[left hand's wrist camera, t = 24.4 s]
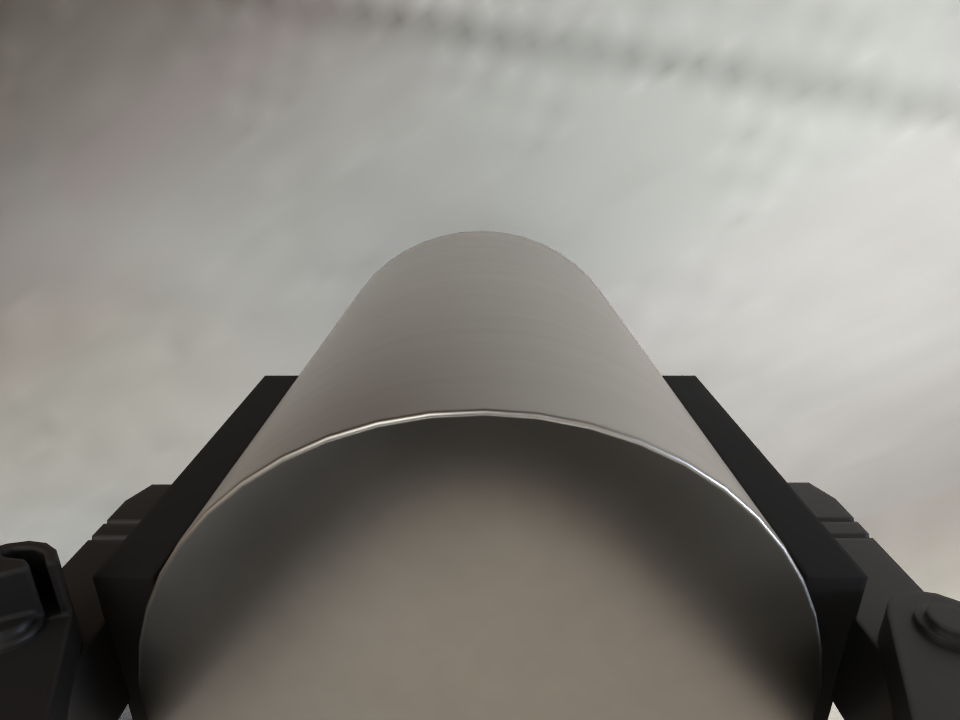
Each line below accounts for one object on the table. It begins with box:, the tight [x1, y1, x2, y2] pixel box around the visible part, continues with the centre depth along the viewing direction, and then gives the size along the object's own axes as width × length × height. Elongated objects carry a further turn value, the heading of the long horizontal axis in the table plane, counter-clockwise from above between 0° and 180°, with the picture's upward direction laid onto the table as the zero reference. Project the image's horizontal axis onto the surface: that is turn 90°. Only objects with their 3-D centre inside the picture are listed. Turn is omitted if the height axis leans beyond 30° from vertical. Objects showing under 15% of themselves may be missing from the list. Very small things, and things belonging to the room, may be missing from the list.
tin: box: [139, 231, 822, 720], centre depth 12 cm, size 8×8×11 cm
